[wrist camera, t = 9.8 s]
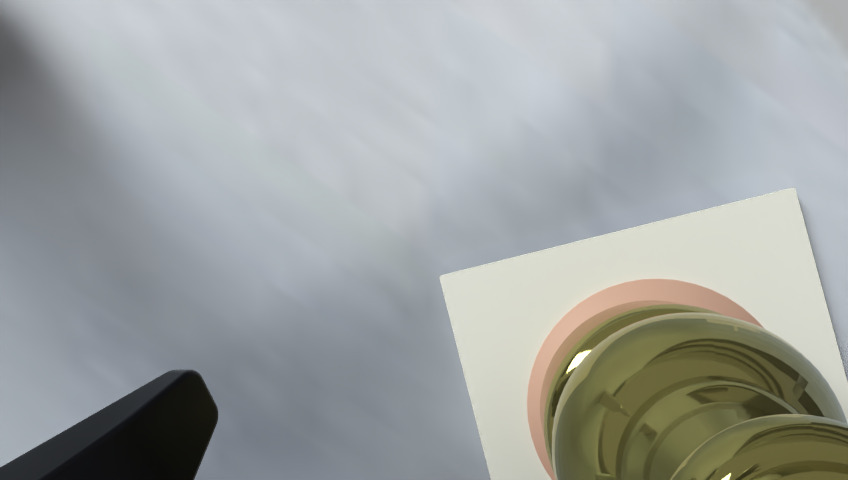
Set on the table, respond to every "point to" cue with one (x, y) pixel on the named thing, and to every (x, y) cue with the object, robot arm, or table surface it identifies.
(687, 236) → the card
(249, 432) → the table surface
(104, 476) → the robot arm
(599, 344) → the brass door knob
